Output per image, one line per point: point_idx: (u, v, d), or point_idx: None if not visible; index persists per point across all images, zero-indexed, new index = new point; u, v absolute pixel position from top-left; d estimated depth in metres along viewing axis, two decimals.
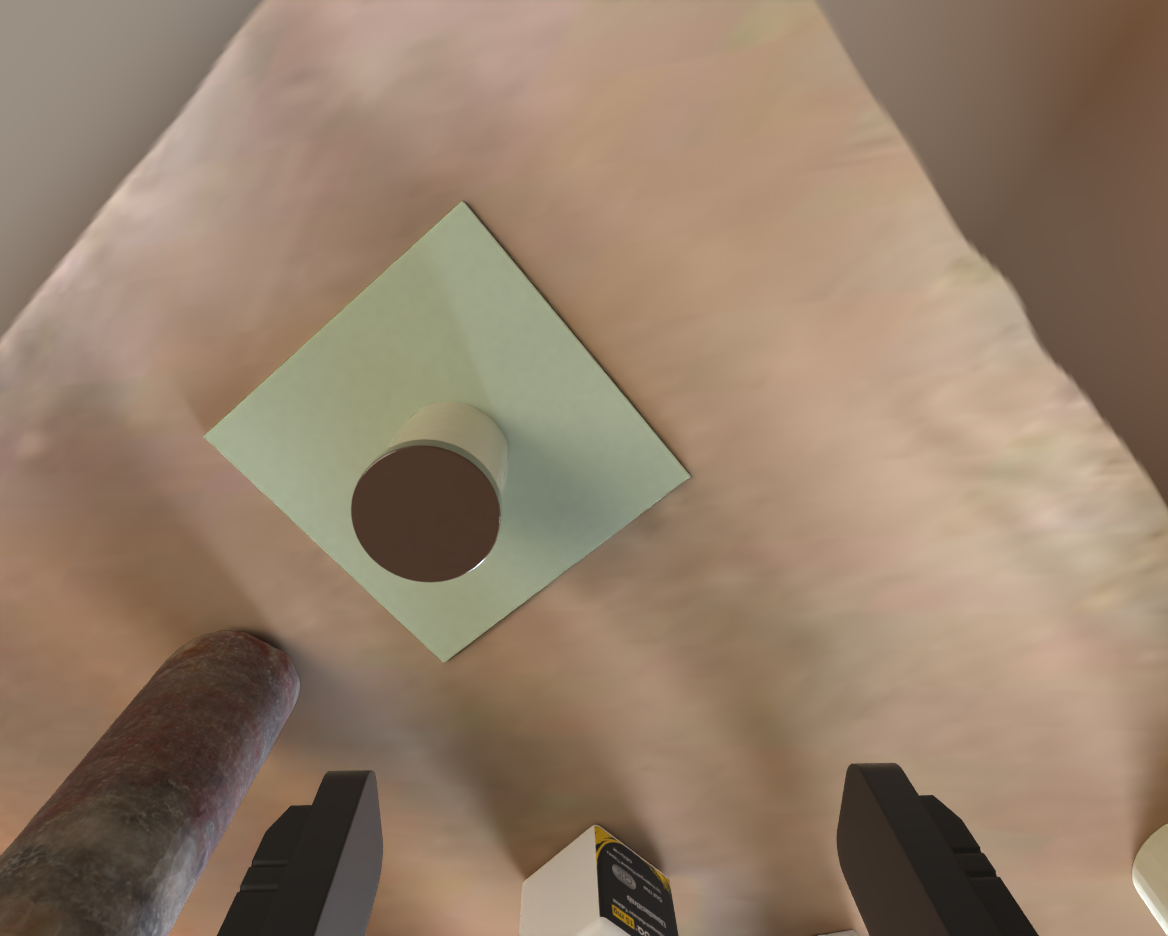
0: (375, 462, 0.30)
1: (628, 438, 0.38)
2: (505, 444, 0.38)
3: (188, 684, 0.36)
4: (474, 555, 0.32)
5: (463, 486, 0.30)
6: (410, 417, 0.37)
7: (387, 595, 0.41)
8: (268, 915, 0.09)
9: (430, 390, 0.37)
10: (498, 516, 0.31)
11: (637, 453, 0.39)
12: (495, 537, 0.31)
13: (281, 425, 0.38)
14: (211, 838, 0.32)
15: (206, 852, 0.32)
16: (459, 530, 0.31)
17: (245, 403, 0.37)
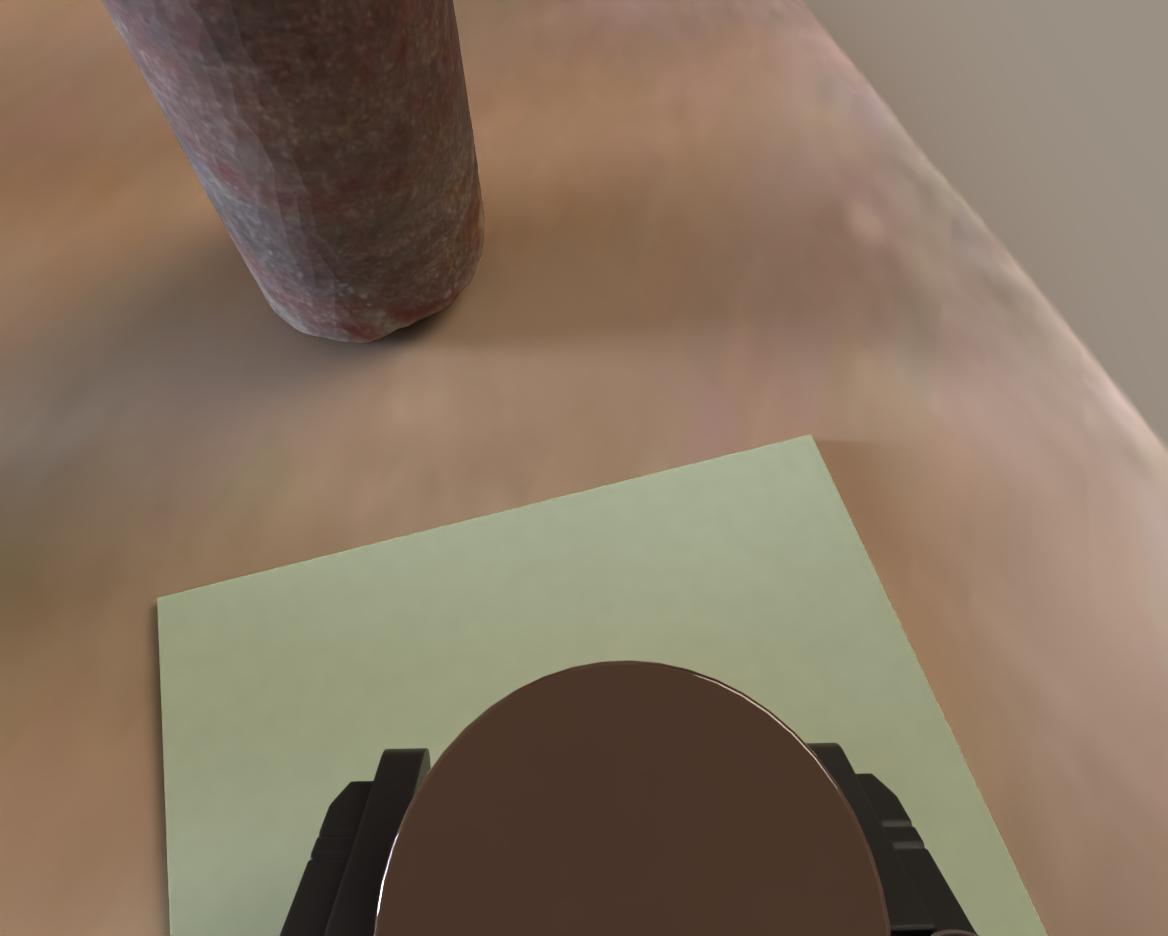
0: (870, 852, 0.09)
1: None
2: None
3: (439, 158, 0.18)
4: None
5: None
6: None
7: (371, 568, 0.19)
8: (343, 879, 0.10)
9: None
10: None
11: None
12: None
13: (789, 565, 0.19)
14: None
15: None
16: None
17: (849, 528, 0.20)
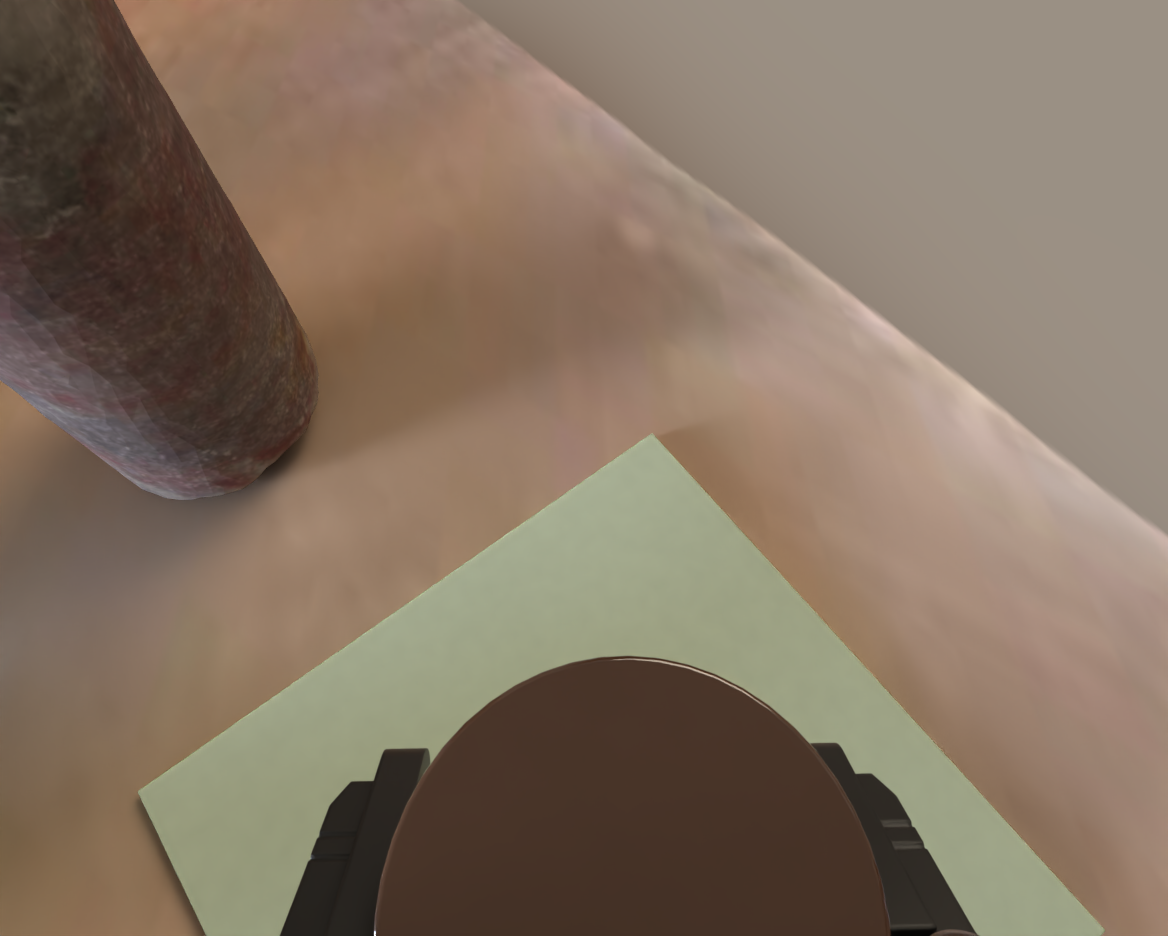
0: (869, 846, 0.09)
1: None
2: None
3: (255, 318, 0.20)
4: None
5: None
6: None
7: (325, 687, 0.21)
8: (344, 879, 0.10)
9: None
10: None
11: None
12: None
13: (671, 548, 0.23)
14: None
15: None
16: None
17: (707, 500, 0.23)
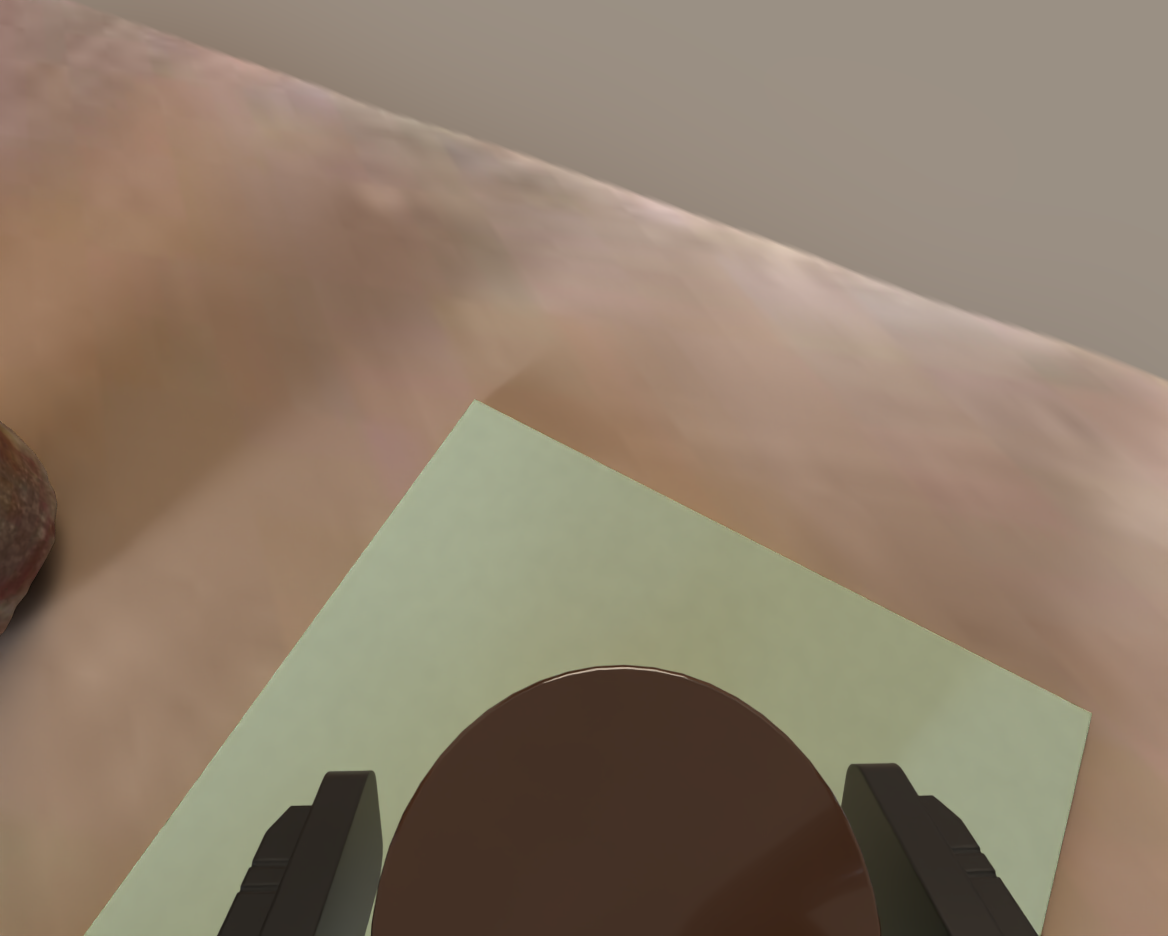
0: (861, 855, 0.09)
1: None
2: None
3: None
4: None
5: None
6: None
7: (189, 837, 0.16)
8: (268, 915, 0.09)
9: None
10: None
11: None
12: None
13: (540, 513, 0.20)
14: None
15: None
16: None
17: (559, 448, 0.21)
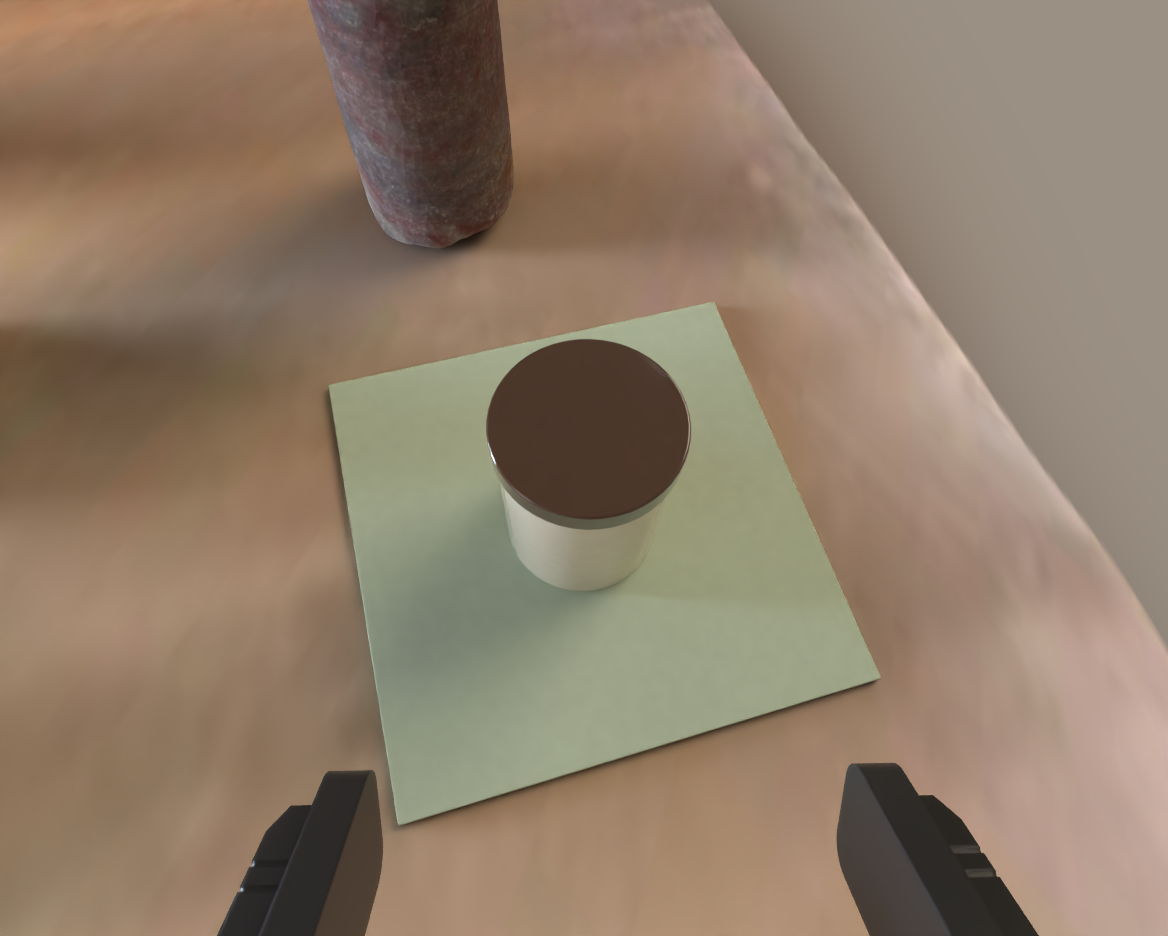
0: (678, 470, 0.22)
1: (500, 754, 0.26)
2: (520, 557, 0.28)
3: (492, 131, 0.32)
4: (509, 393, 0.23)
5: (553, 477, 0.22)
6: (649, 549, 0.28)
7: (451, 371, 0.32)
8: (268, 915, 0.09)
9: (672, 534, 0.29)
10: (493, 453, 0.22)
11: (472, 757, 0.26)
12: (488, 424, 0.22)
13: (695, 372, 0.33)
14: (339, 13, 0.26)
15: None
16: (539, 418, 0.22)
17: (732, 352, 0.33)
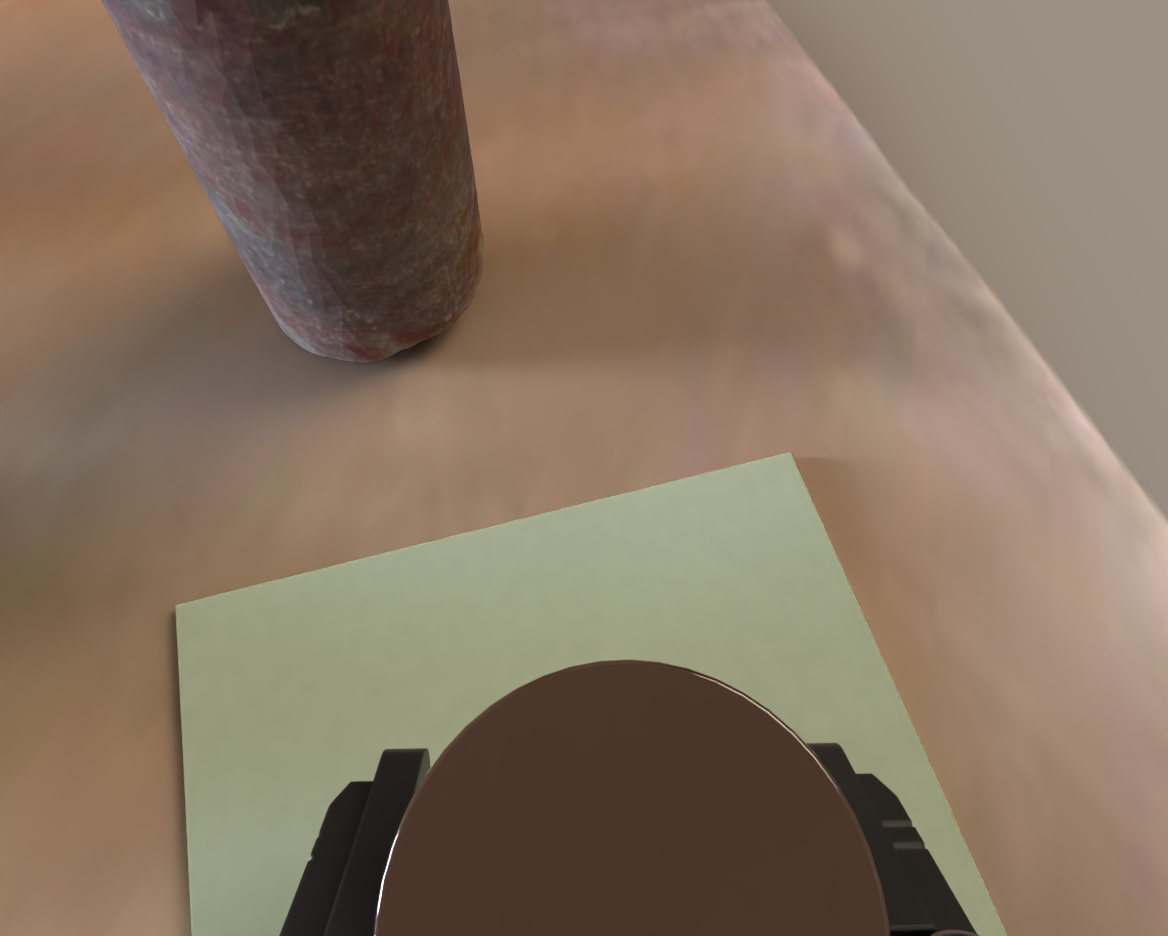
0: None
1: None
2: None
3: (442, 194, 0.19)
4: (435, 830, 0.09)
5: None
6: None
7: (376, 578, 0.20)
8: (343, 880, 0.10)
9: None
10: None
11: None
12: (379, 935, 0.09)
13: (767, 576, 0.21)
14: None
15: None
16: (509, 912, 0.09)
17: (824, 541, 0.21)
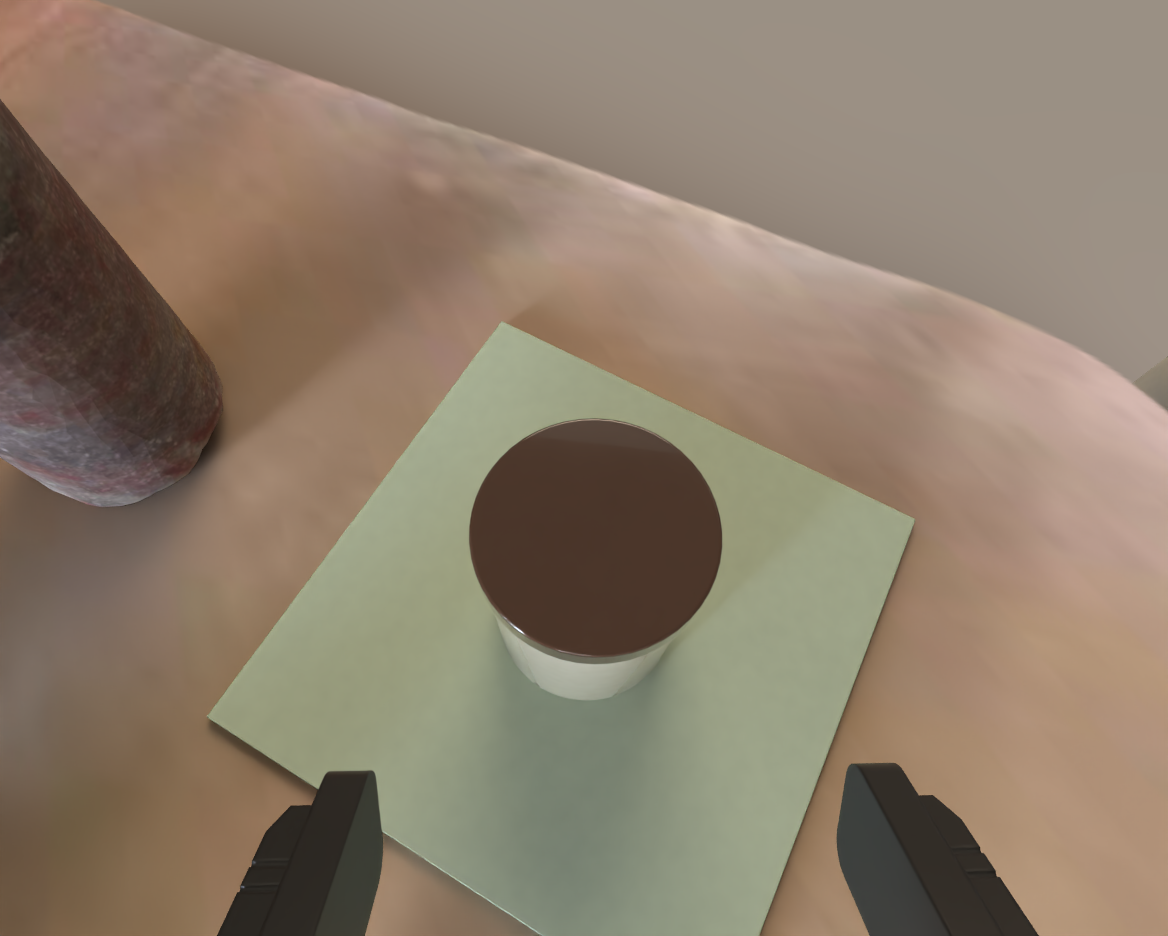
0: (708, 591, 0.17)
1: (731, 885, 0.22)
2: (514, 660, 0.24)
3: (157, 314, 0.24)
4: (497, 490, 0.18)
5: (553, 601, 0.17)
6: None
7: (325, 586, 0.25)
8: (268, 915, 0.09)
9: None
10: (478, 569, 0.18)
11: (712, 915, 0.21)
12: (472, 531, 0.18)
13: (548, 395, 0.29)
14: None
15: None
16: (535, 523, 0.18)
17: (561, 353, 0.30)
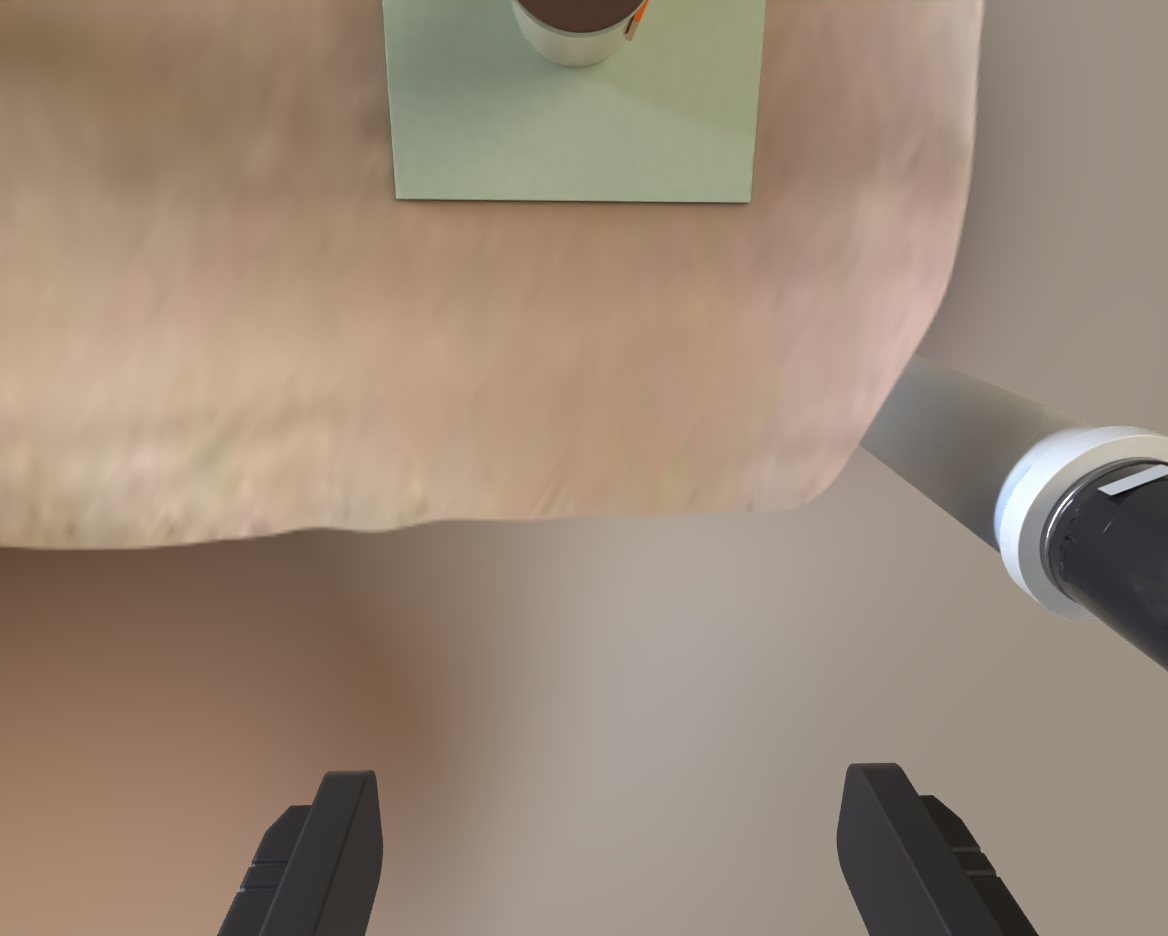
0: (577, 30, 0.28)
1: (471, 173, 0.37)
2: None
3: None
4: None
5: None
6: (573, 64, 0.34)
7: None
8: (268, 915, 0.09)
9: (644, 35, 0.35)
10: None
11: (451, 169, 0.36)
12: None
13: None
14: None
15: None
16: None
17: None
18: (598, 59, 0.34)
